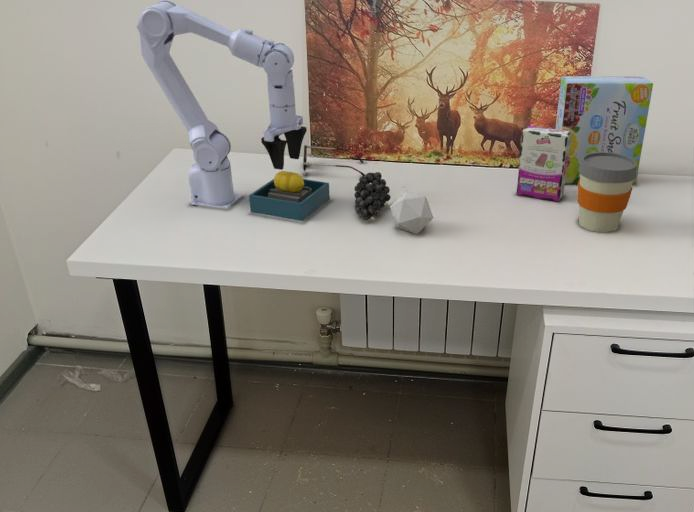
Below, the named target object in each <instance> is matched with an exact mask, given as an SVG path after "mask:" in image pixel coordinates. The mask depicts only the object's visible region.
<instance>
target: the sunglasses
mask: <svg viewBox="0 0 694 512" xmlns="http://www.w3.org/2000/svg"><path fill="white" fill-rule="evenodd" d="M308 149H322V150H334V151H344V152H349V153H350V154H352V155H353V156H354V157H356V158H357V159H358V161H360V163H361V164H363V163H364V160H363V159H362V158H361V157H359V155H357V154H356V153H354V152H353V151H351V150H350V149H346V148H337V147H320V146H313V145H306V144H304V147H303V161H302V164H303V165H302V167H303V168H302V169H303V170H302V171H303V172H304V173H303V174H304V176H306V171H307V166H321V167H322V166H323V167H335V168H337V167H338V168H347V169H348V168H349V169H353V170H354V171H356V172H358V173H359V175H361V177H362V176H365V177H366V174H365V173H364V172H363V171H361V170H359V169H357V168H355V167H353V166H352V165H351V166H350V165H340V164H326V163H325V164H324V163H313V162H307V159H308V158H307V154H308Z"/></svg>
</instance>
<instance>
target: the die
mask: <svg viewBox="0 0 694 512" xmlns="http://www.w3.org/2000/svg"><path fill="white" fill-rule="evenodd" d="M389 208H390V210H391V213H392V216H393V218H394V221H395V224H396V226H397V228H398V229H400V230H403V231H405V232H409V233H412V234H415V235H418V234H419V233H420V232H421V231H422V230H423V229H424V228H425V227H426V226H427V225H428V224H429V223H430V222H432V220H433V219H434V214H433V212H432V209H431V207H430V204H429V201H428V198H427V196H425V195H423V194H420V193H416V192H413V191H410V190H406V191H405V192H404V193H402V195H400V197H398V198H397V200H396V201H395V202H393V203H392V204H391V205H390V207H389Z"/></svg>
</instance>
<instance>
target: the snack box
mask: <svg viewBox="0 0 694 512" xmlns="http://www.w3.org/2000/svg"><path fill="white" fill-rule="evenodd" d="M653 87H654V82H652V81H650V80H649V79H648V78H647V77H646V76H644V75H643V76H637V75H634V76H633V75H631V76H630V75H628V76H627V75H563V76H560V84H559V92H558V93H559V94H558V101H557V102H558V103H557V112H556V121H555V127H554V129H559V130H566V131H572V132H571V140H570V148H569V155H568V163H567V171H566V179H565V185H567V184H574V185H575V184H578V182H579V181H580V173H579V167H580V164H581V160H582V157H583V156H584V155H586V154H589V153H595V152H609V153H616V154H621V155H625V156H628V157H630V158H632V159H634V160H635V161H636V162H637V171H636V178H635V179H634V180H633V183H632V184H637V180H638V173H639V168H640V162H641V156H642V151H643V145H644V140H645V134H646V127H647V122H648V117H649V111H650V105H651V99H652V94H653V93H652V92H653Z"/></svg>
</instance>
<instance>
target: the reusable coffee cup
mask: <svg viewBox="0 0 694 512" xmlns="http://www.w3.org/2000/svg"><path fill="white" fill-rule="evenodd" d="M636 171H637V162H636V161H635V160H634V159H632V158H630V157H628V156H625V155H621V154H616V153H609V152H595V153H589V154H586V155H584V156H583V157H582V160H581V164H580V167H579V173H580V181H579V182H578V183H577V204H578V208H579V209H578V224H579V225H580V226H581V228H583V229H585V230H588V231H592V232H596V233H611V232H615V231H616V230H617V229H618V228H619V225H620V222H621V219H622V216H623V213H624V211H625V210H626V209H627V207H628V203H629V201H630V198H631V194H632V191H633V184H634V183H633V180H634V179H635V178H636Z"/></svg>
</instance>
